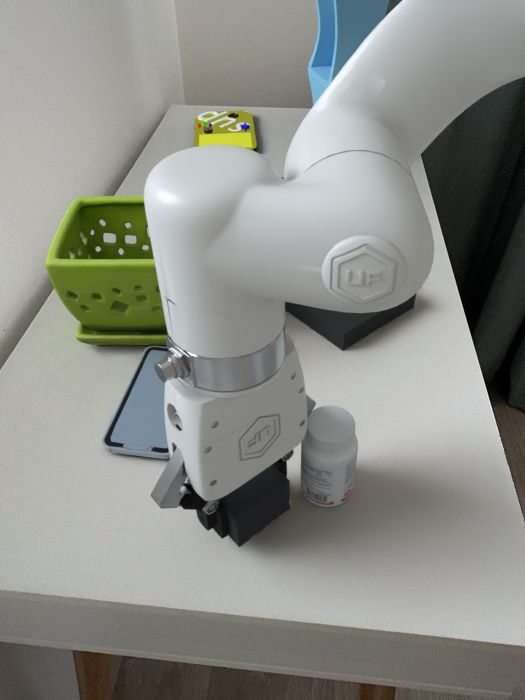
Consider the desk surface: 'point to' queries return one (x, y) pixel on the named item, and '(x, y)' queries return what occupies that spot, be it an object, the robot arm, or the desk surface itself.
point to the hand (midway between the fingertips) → (244, 502)
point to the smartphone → (141, 412)
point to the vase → (340, 37)
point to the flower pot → (108, 273)
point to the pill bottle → (328, 456)
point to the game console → (225, 129)
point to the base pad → (346, 321)
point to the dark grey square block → (256, 504)
